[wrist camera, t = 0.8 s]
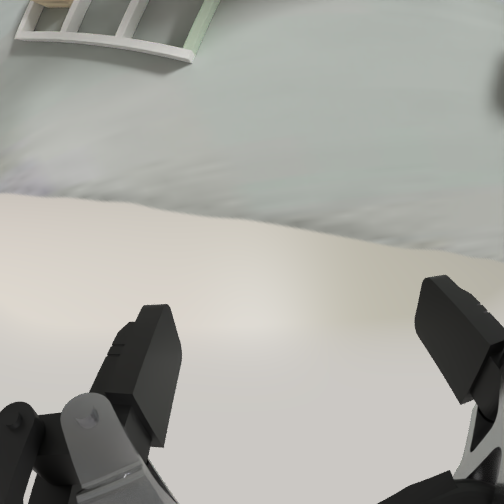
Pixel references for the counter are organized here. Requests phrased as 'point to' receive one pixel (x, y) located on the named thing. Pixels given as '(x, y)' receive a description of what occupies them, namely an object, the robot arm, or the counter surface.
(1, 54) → the counter surface
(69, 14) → the divider frame
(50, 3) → the beech letter block
